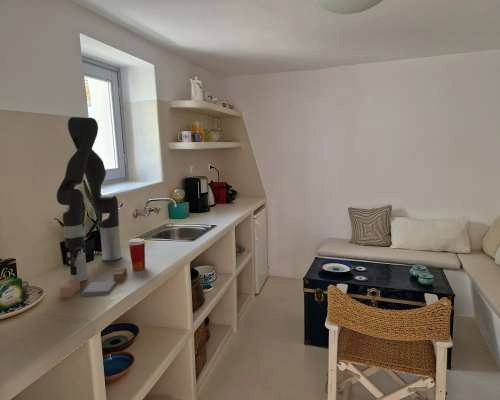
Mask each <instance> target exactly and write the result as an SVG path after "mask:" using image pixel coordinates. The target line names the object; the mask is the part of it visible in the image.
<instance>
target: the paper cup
mask: <svg viewBox="0 0 500 400" xmlns="http://www.w3.org/2000/svg"><path fill="white" fill-rule="evenodd" d="M145 243H146V241H145V239H144V238H139V237H138V238H133V239H130V240H128V244H127V245H128V246H129V247H128V248H129V254H130V260H131V261H130V262H131V266H132V267H131V268H132V270H133V271H134V272H139V271H144V270H146V252H145V251H146V248H145V247H146V244H145Z"/></svg>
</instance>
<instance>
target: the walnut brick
mask: <svg viewBox="0 0 500 400" xmlns="http://www.w3.org/2000/svg"><path fill="white" fill-rule="evenodd" d="M127 276H128V269H127V266H126V267H117V268H115V270H114V272H113V274H112V279H113V280H112V281H116V284H117V283H124V282H125V280H126V278H127Z"/></svg>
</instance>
